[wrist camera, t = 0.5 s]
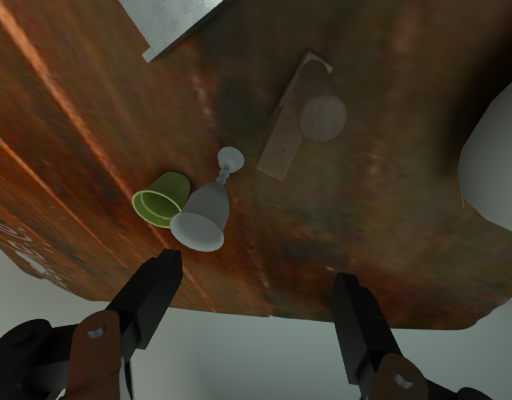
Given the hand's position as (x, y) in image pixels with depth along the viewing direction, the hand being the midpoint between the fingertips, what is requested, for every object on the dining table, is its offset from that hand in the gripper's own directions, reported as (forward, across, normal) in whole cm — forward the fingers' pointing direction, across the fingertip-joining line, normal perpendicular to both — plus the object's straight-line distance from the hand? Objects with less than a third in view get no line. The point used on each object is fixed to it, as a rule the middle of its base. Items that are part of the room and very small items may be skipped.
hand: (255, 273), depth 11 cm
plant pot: (+33, +19, +10) cm, 40 cm away
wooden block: (+27, -2, -9) cm, 29 cm away
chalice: (+31, +8, +3) cm, 32 cm away
